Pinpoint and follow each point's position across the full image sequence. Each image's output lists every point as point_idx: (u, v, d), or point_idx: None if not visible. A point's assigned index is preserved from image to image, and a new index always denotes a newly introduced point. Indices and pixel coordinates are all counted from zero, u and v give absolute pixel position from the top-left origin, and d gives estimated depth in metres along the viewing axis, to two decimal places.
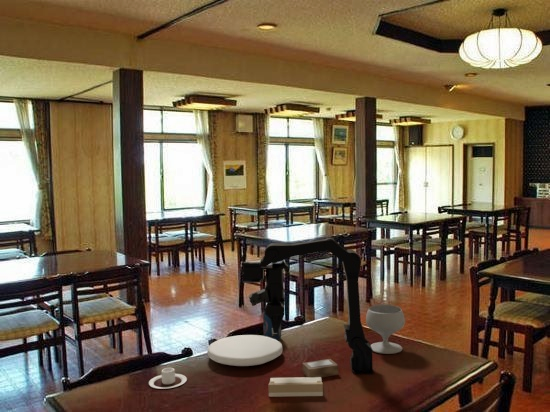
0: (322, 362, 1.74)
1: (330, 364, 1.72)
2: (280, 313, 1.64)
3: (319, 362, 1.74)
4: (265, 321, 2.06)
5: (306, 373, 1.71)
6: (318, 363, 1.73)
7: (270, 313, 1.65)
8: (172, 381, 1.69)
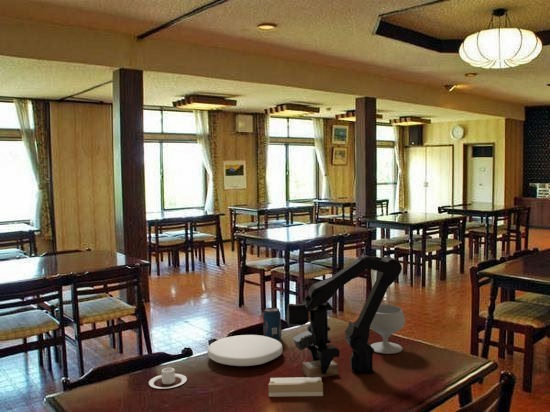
0: None
1: (330, 363, 1.72)
2: (336, 355, 1.64)
3: (319, 361, 1.74)
4: (265, 321, 2.06)
5: (306, 372, 1.71)
6: (318, 362, 1.73)
7: (327, 357, 1.63)
8: (172, 381, 1.69)
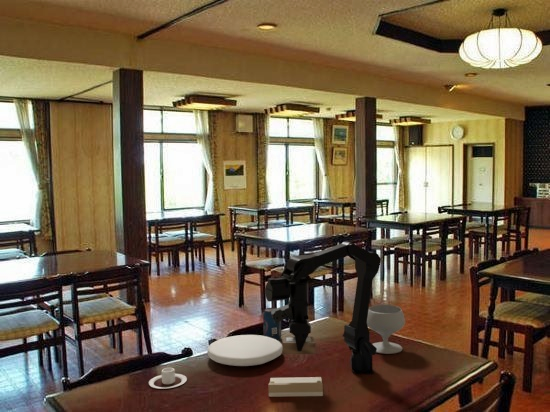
0: None
1: (308, 341, 1.62)
2: (306, 332, 1.54)
3: None
4: (265, 321, 2.06)
5: None
6: None
7: (296, 332, 1.54)
8: (172, 381, 1.69)
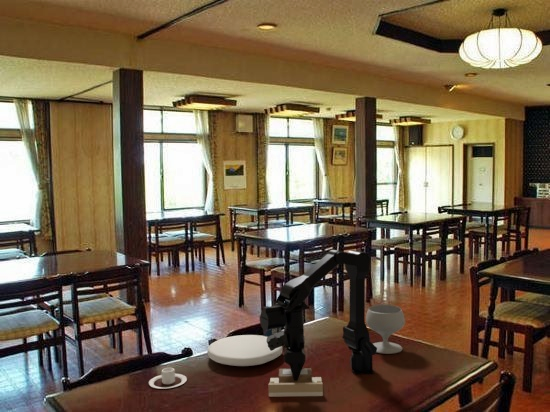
0: None
1: (304, 373, 1.61)
2: (301, 360, 1.53)
3: None
4: None
5: None
6: None
7: (290, 360, 1.53)
8: (172, 381, 1.69)
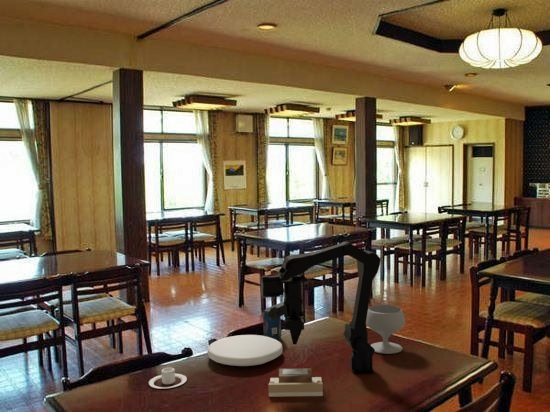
0: (298, 370, 1.63)
1: (304, 373, 1.61)
2: (300, 328, 1.60)
3: (295, 370, 1.63)
4: (265, 321, 2.06)
5: None
6: (293, 371, 1.63)
7: (289, 328, 1.60)
8: (172, 381, 1.69)
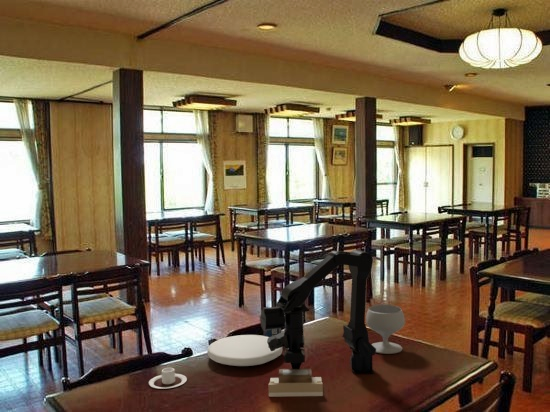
0: (298, 371, 1.63)
1: (304, 374, 1.60)
2: (300, 361, 1.57)
3: (295, 370, 1.63)
4: None
5: None
6: (293, 371, 1.62)
7: (290, 361, 1.57)
8: (172, 381, 1.69)
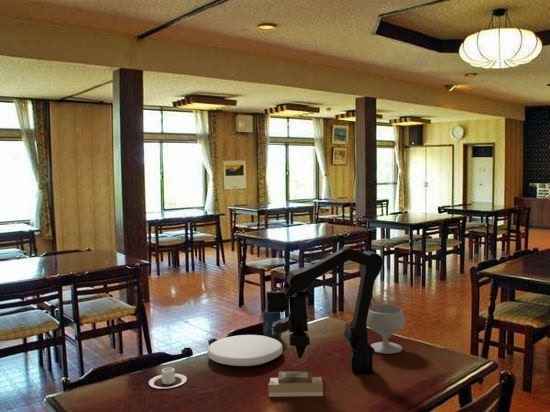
0: (298, 373, 1.61)
1: (304, 376, 1.58)
2: (305, 344, 1.61)
3: (295, 373, 1.61)
4: (265, 321, 2.06)
5: None
6: (293, 374, 1.60)
7: (295, 344, 1.61)
8: (172, 381, 1.69)
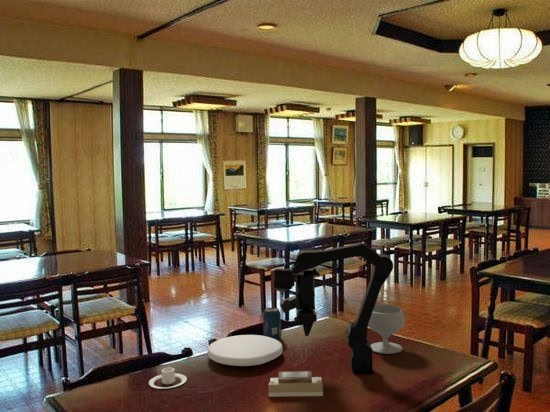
0: (298, 373, 1.61)
1: (304, 376, 1.58)
2: (312, 320, 1.64)
3: (295, 373, 1.61)
4: (265, 321, 2.06)
5: None
6: (293, 374, 1.60)
7: (302, 320, 1.64)
8: (172, 381, 1.69)
